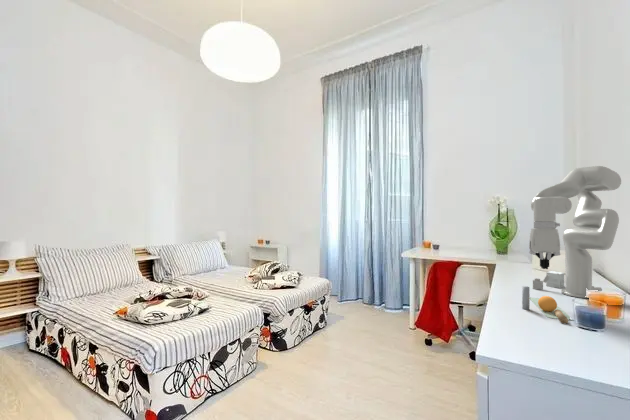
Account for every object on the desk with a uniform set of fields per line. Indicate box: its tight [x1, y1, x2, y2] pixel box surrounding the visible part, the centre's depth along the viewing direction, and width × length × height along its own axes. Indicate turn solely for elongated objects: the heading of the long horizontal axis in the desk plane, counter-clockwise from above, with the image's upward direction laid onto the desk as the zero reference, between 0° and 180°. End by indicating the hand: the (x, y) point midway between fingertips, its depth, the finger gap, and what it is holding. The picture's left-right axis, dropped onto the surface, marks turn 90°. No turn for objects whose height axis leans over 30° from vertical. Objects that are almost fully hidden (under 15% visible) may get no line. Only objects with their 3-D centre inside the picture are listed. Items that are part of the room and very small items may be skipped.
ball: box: [538, 295, 558, 312], centre depth 121 cm, size 6×6×6 cm
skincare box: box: [545, 270, 565, 289], centre depth 160 cm, size 6×6×7 cm
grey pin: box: [521, 285, 531, 311], centre depth 124 cm, size 2×2×9 cm
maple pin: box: [554, 310, 569, 324], centre depth 113 cm, size 2×2×9 cm
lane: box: [530, 297, 572, 321], centre depth 126 cm, size 28×8×1 cm, turn 157°
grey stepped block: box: [532, 274, 550, 291], centre depth 154 cm, size 7×2×8 cm, turn 52°
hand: (544, 268), depth 131 cm, fingers closed
